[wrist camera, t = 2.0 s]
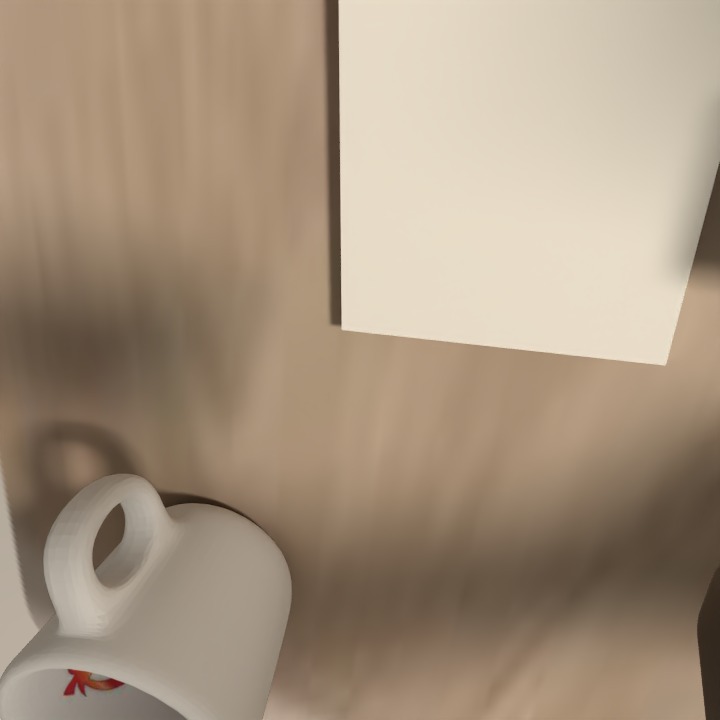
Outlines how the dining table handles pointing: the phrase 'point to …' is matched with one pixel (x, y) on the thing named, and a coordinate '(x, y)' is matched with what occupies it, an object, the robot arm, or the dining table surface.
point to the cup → (153, 614)
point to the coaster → (526, 169)
